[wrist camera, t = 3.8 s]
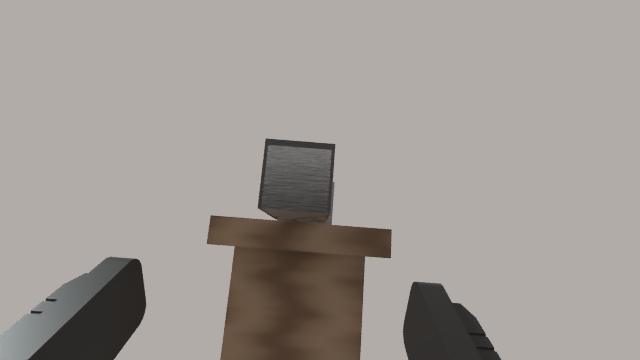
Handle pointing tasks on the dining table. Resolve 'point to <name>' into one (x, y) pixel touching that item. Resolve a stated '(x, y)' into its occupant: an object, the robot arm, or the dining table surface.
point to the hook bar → (297, 181)
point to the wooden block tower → (295, 287)
